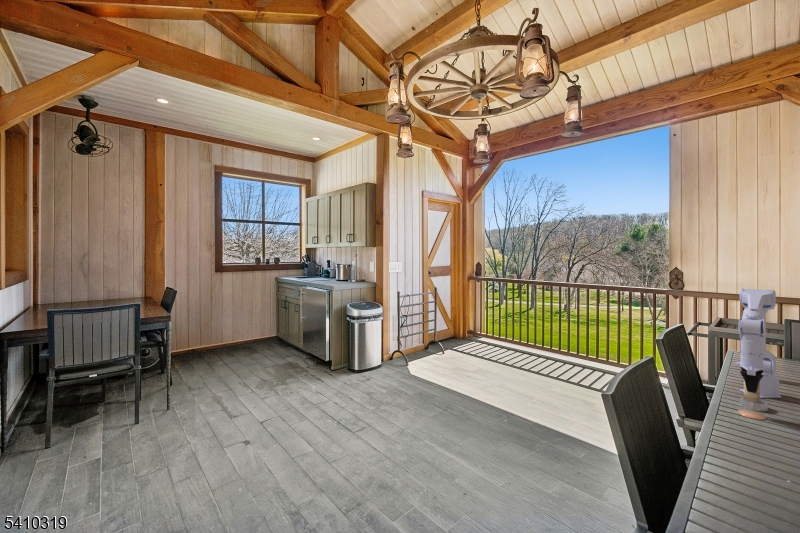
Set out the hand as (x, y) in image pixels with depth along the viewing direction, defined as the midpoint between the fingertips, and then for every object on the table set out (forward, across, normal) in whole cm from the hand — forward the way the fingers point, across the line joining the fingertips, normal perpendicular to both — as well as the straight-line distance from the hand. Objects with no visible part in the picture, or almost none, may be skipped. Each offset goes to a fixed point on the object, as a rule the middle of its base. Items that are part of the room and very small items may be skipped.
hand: (751, 390), depth 121 cm
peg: (+3, 0, 0) cm, 3 cm away
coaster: (+9, 0, 0) cm, 9 cm away
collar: (+9, -10, 0) cm, 13 cm away
